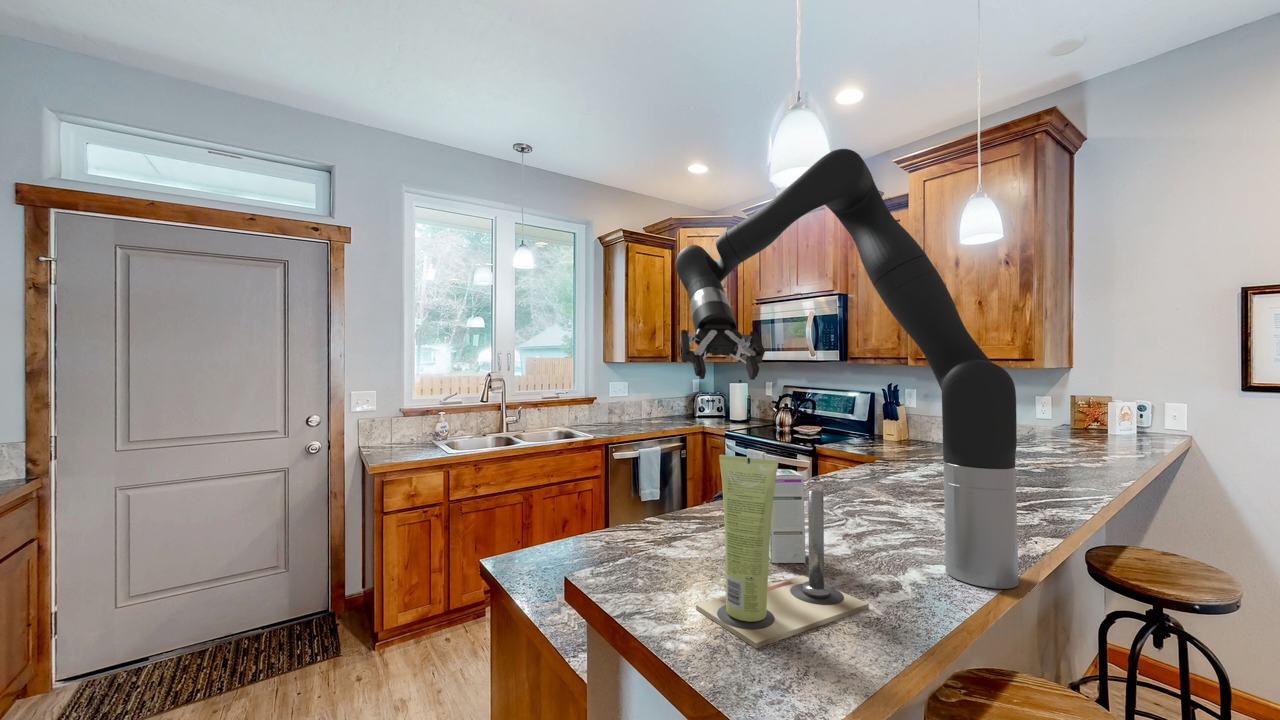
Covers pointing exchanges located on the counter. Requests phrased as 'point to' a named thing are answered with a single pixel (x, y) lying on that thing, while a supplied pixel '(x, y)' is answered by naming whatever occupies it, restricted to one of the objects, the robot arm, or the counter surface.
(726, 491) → the tube
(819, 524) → the fixed peg
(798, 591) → the board
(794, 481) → the syrup box
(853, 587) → the counter surface
